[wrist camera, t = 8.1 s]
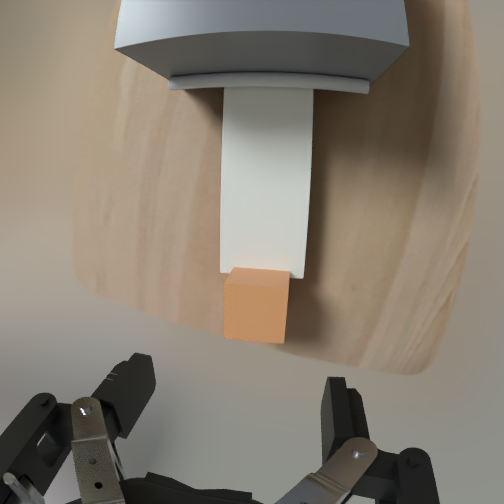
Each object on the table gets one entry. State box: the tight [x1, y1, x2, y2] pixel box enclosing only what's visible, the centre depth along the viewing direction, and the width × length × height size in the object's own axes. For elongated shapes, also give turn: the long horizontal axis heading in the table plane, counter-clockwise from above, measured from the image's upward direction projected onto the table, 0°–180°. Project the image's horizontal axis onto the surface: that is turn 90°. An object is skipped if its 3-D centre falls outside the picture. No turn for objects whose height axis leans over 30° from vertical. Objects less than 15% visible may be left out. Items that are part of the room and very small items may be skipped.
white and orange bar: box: [220, 86, 313, 344], centre depth 20 cm, size 20×6×5 cm, turn 178°
